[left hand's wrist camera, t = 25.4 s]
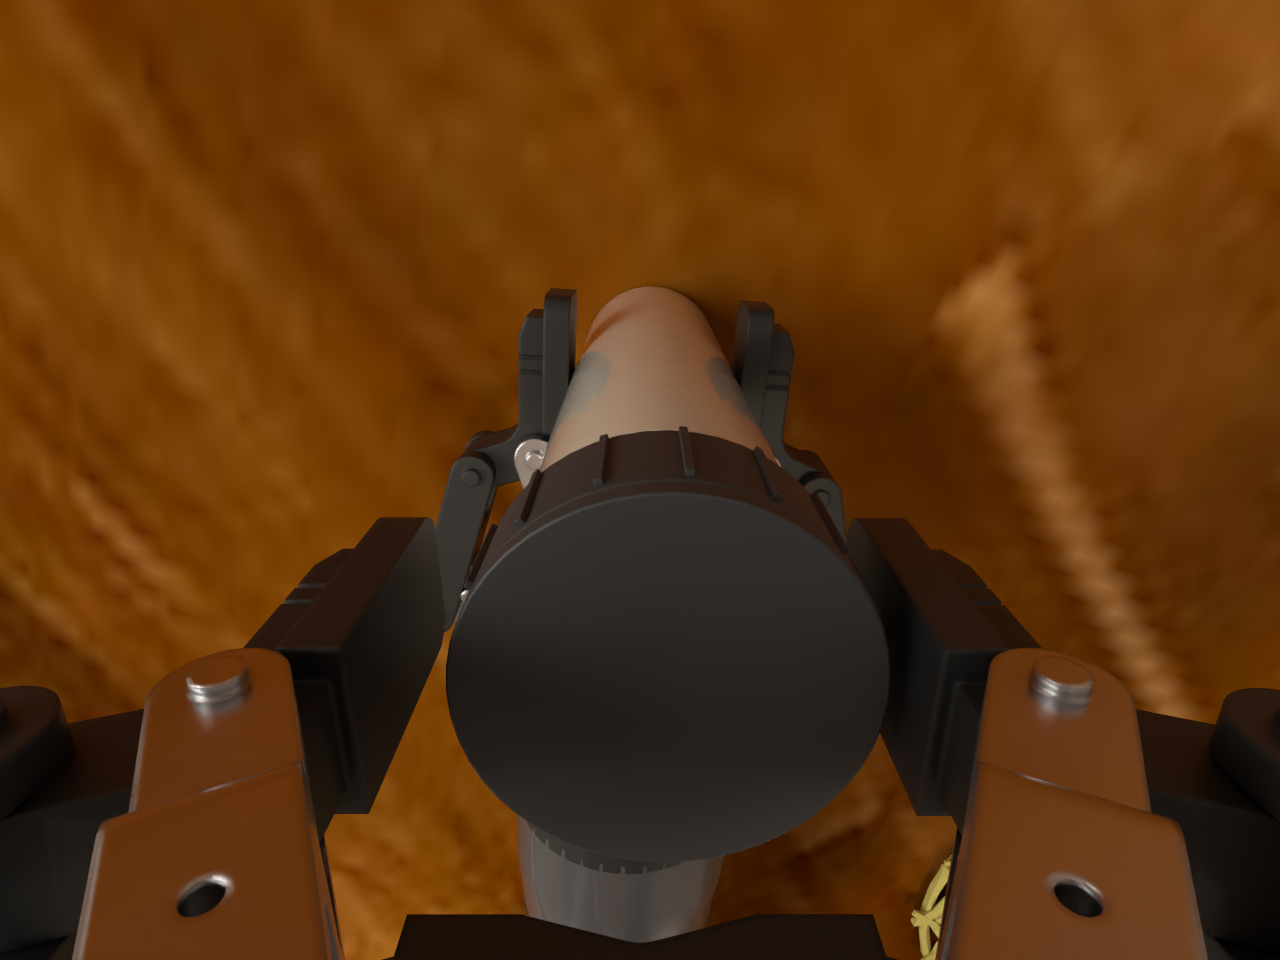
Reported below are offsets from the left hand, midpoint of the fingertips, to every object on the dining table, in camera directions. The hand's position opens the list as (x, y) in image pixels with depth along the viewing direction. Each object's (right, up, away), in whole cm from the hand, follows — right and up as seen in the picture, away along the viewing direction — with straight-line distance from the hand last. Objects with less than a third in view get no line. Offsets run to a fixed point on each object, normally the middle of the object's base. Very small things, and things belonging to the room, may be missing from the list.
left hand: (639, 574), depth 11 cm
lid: (0, -1, -2) cm, 3 cm away
